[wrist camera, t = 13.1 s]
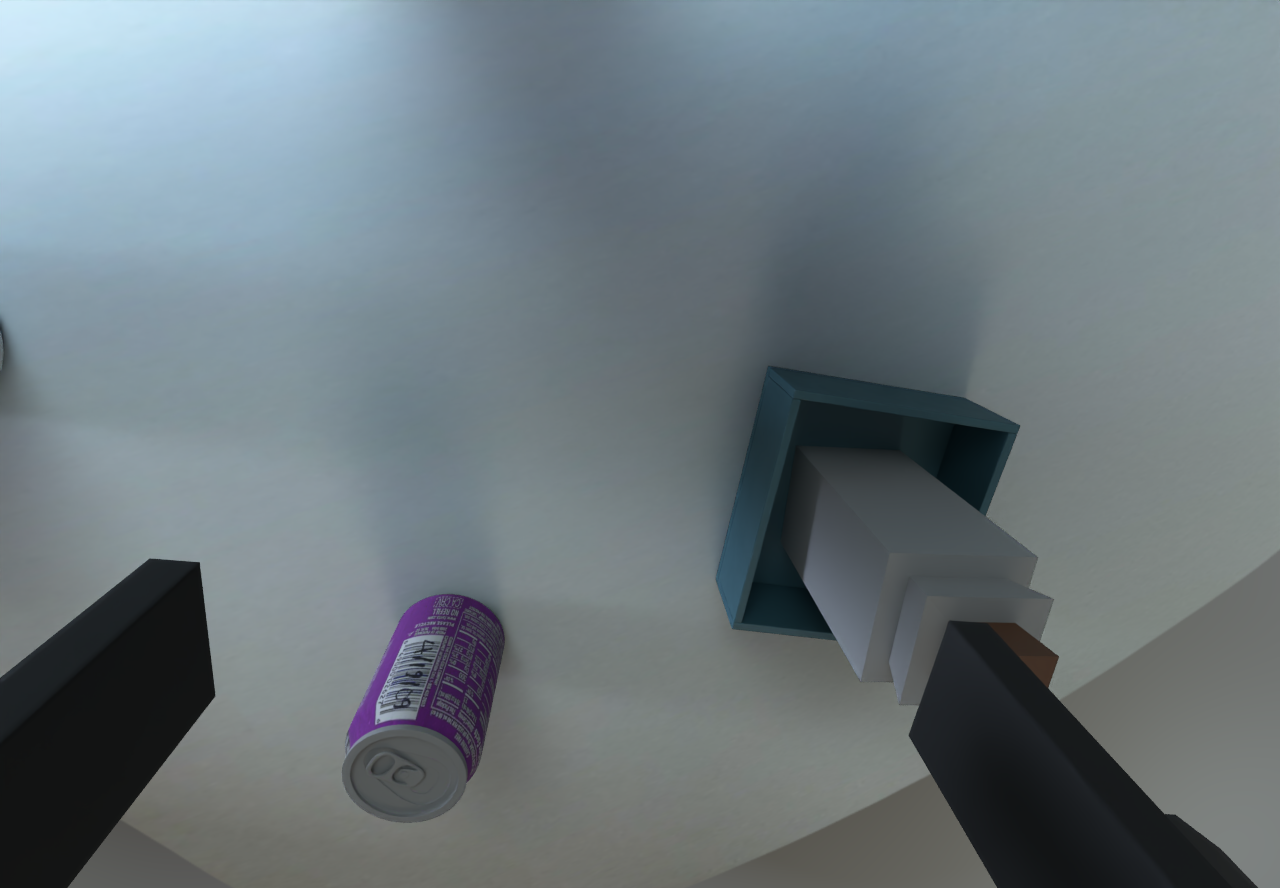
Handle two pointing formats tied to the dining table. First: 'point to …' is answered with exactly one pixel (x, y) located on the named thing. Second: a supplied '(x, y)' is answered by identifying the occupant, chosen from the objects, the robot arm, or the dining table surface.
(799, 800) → the dining table surface
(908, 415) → the case
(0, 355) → the fruit juice
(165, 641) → the robot arm
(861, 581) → the perfume bottle
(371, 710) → the beverage can
